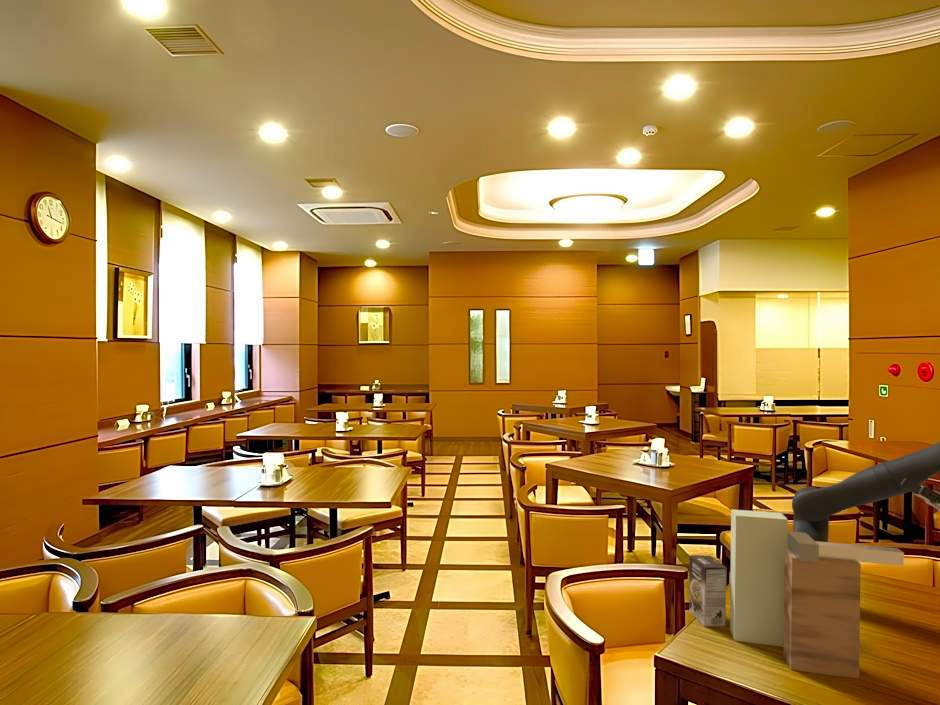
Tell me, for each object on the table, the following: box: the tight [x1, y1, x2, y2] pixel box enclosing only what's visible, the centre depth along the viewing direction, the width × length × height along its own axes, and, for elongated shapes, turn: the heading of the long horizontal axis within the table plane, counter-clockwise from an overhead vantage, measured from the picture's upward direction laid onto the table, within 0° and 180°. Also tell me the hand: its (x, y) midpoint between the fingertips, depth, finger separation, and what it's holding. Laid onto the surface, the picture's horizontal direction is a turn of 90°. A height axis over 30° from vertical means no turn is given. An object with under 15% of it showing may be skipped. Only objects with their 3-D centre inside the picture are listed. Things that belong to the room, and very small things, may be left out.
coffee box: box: [688, 554, 728, 627], centre depth 157 cm, size 9×6×16 cm
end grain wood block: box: [788, 530, 905, 567], centre depth 132 cm, size 9×22×4 cm, turn 76°
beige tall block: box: [729, 509, 789, 648], centre depth 147 cm, size 6×12×32 cm, turn 76°
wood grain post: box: [782, 549, 862, 680], centre depth 133 cm, size 6×14×26 cm, turn 76°
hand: (911, 485), depth 133 cm, fingers open, 8 cm apart
